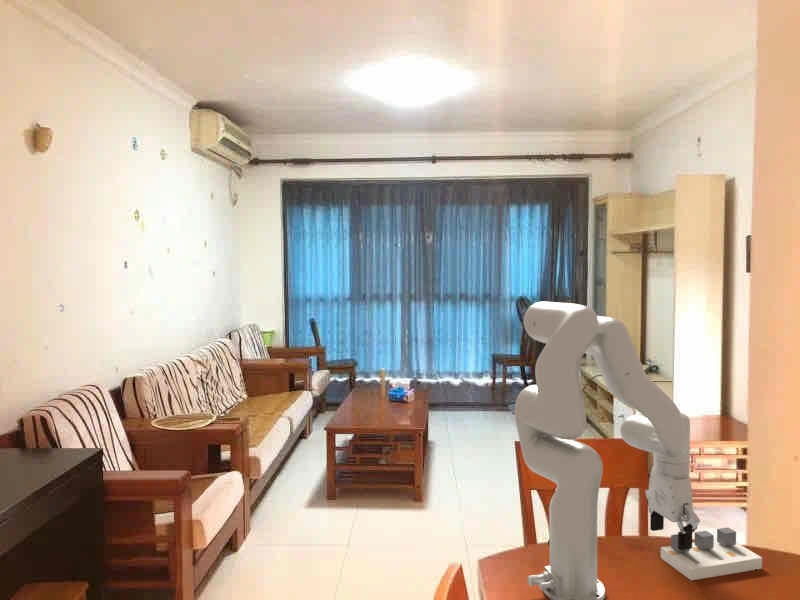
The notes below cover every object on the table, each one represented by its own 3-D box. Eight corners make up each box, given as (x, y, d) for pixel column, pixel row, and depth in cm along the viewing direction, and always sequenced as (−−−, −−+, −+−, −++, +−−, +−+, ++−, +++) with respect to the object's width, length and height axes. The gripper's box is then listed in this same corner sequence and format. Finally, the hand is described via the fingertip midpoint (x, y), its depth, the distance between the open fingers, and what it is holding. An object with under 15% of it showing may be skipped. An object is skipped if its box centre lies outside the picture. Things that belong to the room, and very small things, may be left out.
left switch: (678, 552, 135) (678, 539, 135) (670, 547, 137) (671, 535, 137) (689, 551, 135) (689, 538, 135) (682, 546, 138) (682, 533, 138)
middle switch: (702, 549, 136) (702, 536, 136) (694, 544, 138) (694, 532, 138) (713, 548, 137) (713, 535, 136) (705, 543, 139) (706, 530, 139)
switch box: (691, 580, 129) (691, 568, 129) (660, 557, 138) (660, 546, 138) (761, 568, 133) (762, 557, 133) (727, 547, 143) (727, 536, 142)
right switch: (724, 546, 137) (724, 533, 137) (716, 541, 140) (717, 529, 139) (735, 544, 138) (736, 531, 138) (727, 539, 140) (728, 527, 140)
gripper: (633, 456, 146) (633, 525, 147) (682, 481, 129) (681, 559, 130) (661, 453, 147) (660, 521, 149) (713, 478, 131) (711, 554, 132)
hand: (670, 539), depth 139 cm, fingers open, 9 cm apart
